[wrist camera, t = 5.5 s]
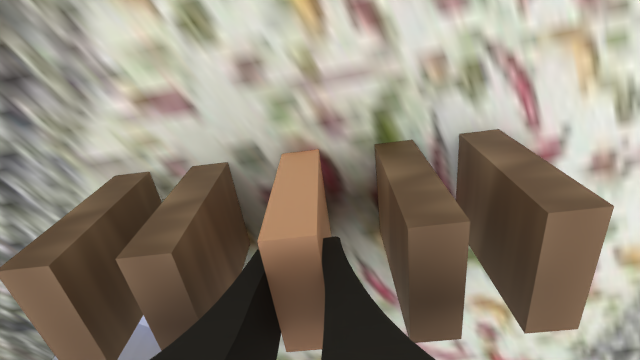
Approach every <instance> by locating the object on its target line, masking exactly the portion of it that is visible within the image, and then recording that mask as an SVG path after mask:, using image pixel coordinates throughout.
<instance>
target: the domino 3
mask: <svg viewBox="0 0 640 360" xmlns="http://www.w3.org/2000/svg"><path fill="white" fill-rule="evenodd" d="M328 237H331V230H330V223H329V217H328V210H327V203H326V196H325V189H324V182H323V175H322V168H321V161H320V154H319V149H318V150H310V151H302V152H293V153H285V154H282V156H281V159H280V163H279V166H278V170H277V173H276V177H275V180H274V184H273V188H272V191H271V195H270V198H269V202H268V205H267V209H266V212H265V216H264V219H263V223H262V227H261V230H260V234H259V237H258V241H257V243H258V246H259V250H260V254H261V258H262V262H263V265H264V269H265V273H266V277H267V280H268V284H269V288H270V292H271V295H272V299H273V303H274V307H275V311H276V314H277V318H278V322H279V326H280V329H281V333H282V337H283V341H284V344H285V348H286V352H294V351H306V350H317V349H322V346H323V332H324V312H325V285H324V277H323V269H322V245H323V238H328Z"/></svg>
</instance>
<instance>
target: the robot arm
mask: <svg viewBox="0 0 640 360" xmlns="http://www.w3.org/2000/svg"><path fill="white" fill-rule="evenodd" d="M322 269H323V277H324V285H325V312H324V332H323V346H322V358H321V360H435V359H434V358H433V357H431V356H430V355H429V354H428V353H426V352H425V351H424V350H423V349H421V348H420V347H419V346H418V345H417V344H415V343H414V342H413V341H412V340H411V339H410V338H409V337H407V336H406V335H405V334H404V333H403V332H402V331H401V330H400V329H399V328H398V327H397V326H396V325H395V324H394V323H393V322H392V321H391V320H390V319H389V318H388V317H387V316H386V315H385V314H384V312H383V311H382V310H381V309H380V308H379V307H378V305H377V304H376V303H375V302H374V300H373V299H372V298H371V297H370V295H369V294H368V293H367V291H366V290H365V288H364V287H363V285H362V284H361V282H360V281H359V279H358V278H357V276H356V275H355V273H354V271H353V269H352V267H351V266H350V264H349V262H348V260H347V258H346V256H345V253H344V251H343V248H342V245H341V241H340V238H338V237H328V238H323V245H322ZM280 336H281V329H280V326H279V322H278V318H277V314H276V311H275V307H274V303H273V299H272V295H271V292H270V288H269V284H268V280H267V277H266V273H265V269H264V265H263V262H262V258H261V254H260V250H259V249H258V250H257V251H256V253H255V254H254V255H253V257H252V258H251V260H250V261H249V262H248V264H247V265H246V267H245V268H244V269H243V271H242V272H241V273H240V274H239V276H238V277H237V278H236V280H235V281H234V282H233V283H232V285H231V286H230V287H229V288H228V289H227V290H226V292H225V293H224V294H223V295H222V296H221V297H220V299H219V300H218V301H217V302H216V303H215V304H214V305H213V306H212V307H211V308H210V309H209V310H208V311H207V312H206V313H205V314H204V315H203V316H202V317H201V318H200V319H199V320H198V321H197V322H196V323H195V324H194V325H192V326H191V327H190V328H189V329H188V330H187V331H185V332H184V333H183V334H182V335H181V336H180V337H178V338H177V339H176V340H175V341H174V342H172V343H171V344H170V345H169V346H167V347H166V348H165V349H163V350H162V351H161V349H160V347H159V345H158V343H157V341H156V339H155V337H154V335H153V333H152V331H151V329H150V327H149V325H148V323H147V321H146V319H145V317H144V315H143V317H142V318H141V320H140V322H139V324H138V325H137V327H136V329H135V330H134V332H133V334H132V335H131V337H130V339H129V341H128V342H127V344H126V346H125V347H124V349H123V351H122V353H121V354H120V356H119V358H118V359H117V360H276V359H277V353H278V348H279V342H280ZM52 360H58V359H57V357H56V356H54V357H53V359H52Z"/></svg>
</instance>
